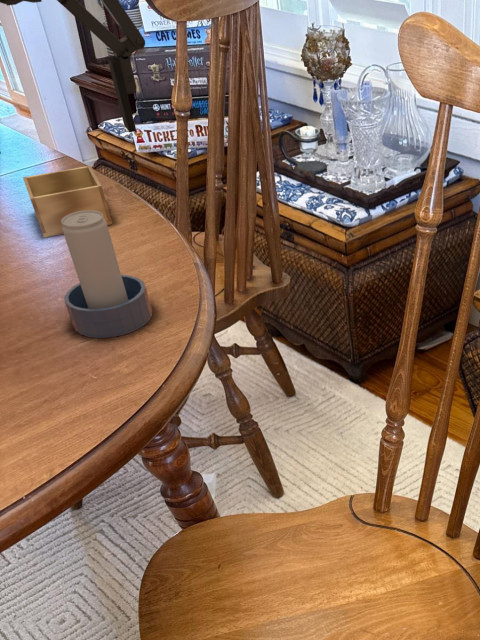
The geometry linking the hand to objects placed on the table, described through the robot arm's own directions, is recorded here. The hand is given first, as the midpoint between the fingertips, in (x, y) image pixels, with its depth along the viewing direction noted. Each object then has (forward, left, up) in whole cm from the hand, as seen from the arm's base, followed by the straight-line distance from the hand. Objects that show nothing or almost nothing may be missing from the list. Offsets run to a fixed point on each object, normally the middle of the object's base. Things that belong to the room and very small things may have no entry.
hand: (64, 139), depth 81 cm
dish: (-1, 0, -21) cm, 21 cm away
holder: (-27, +24, -21) cm, 42 cm away
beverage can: (-1, 0, -20) cm, 21 cm away
